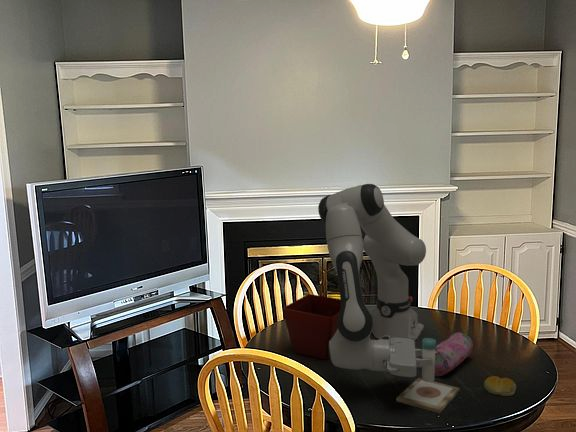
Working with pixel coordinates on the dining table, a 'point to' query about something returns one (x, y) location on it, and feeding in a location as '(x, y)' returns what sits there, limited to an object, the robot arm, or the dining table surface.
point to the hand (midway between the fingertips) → (431, 358)
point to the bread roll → (500, 386)
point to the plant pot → (312, 324)
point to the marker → (428, 352)
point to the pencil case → (452, 353)
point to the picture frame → (428, 395)
